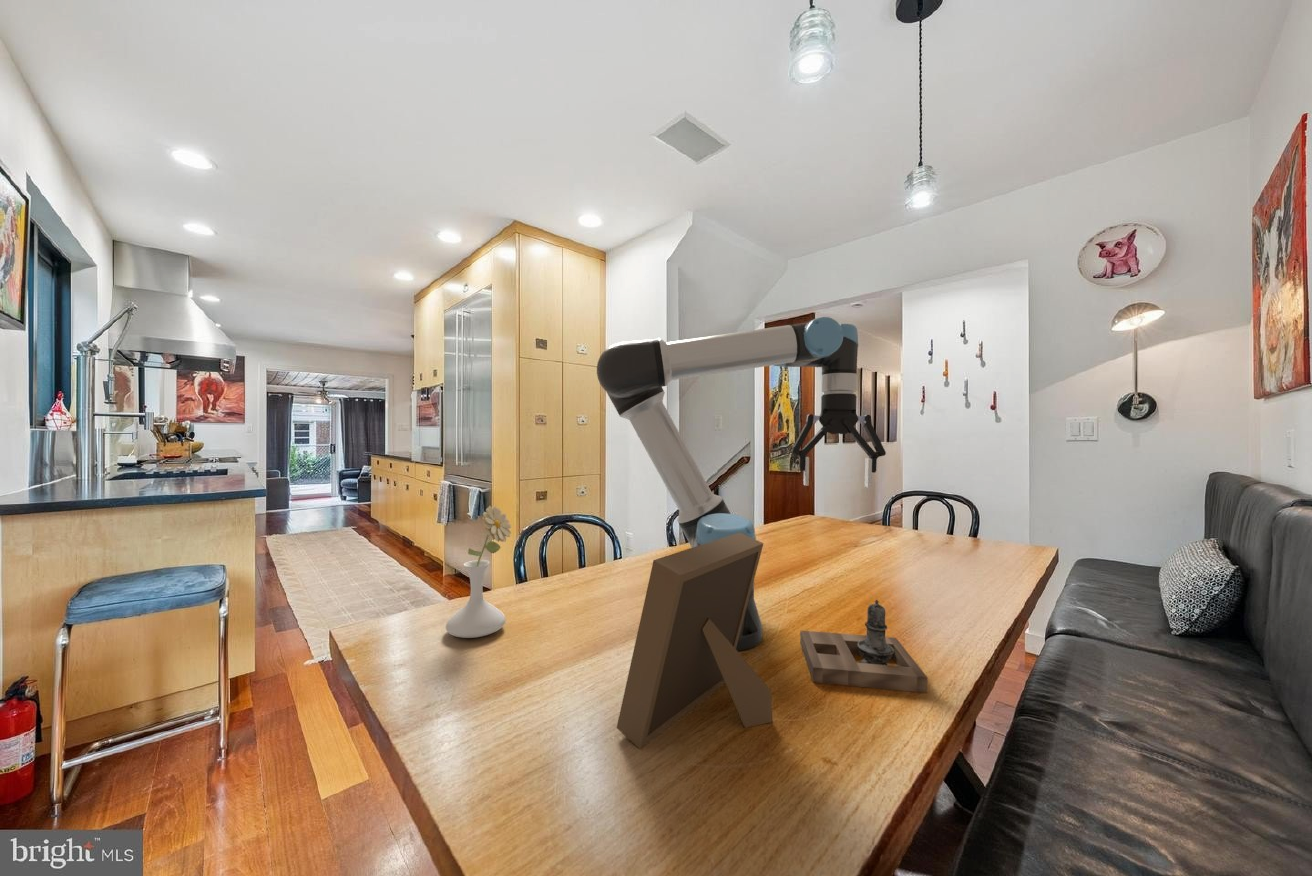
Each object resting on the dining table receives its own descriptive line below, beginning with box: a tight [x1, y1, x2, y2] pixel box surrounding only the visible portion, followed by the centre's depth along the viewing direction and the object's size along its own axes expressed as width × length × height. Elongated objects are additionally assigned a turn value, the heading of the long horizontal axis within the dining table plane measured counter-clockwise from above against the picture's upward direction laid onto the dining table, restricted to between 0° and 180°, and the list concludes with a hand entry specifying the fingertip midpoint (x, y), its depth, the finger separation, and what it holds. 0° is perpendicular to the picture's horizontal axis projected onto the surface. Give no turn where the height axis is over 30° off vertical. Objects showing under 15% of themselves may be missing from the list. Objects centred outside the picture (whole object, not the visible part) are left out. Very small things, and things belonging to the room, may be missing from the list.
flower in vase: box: [445, 505, 512, 639], centre depth 97 cm, size 13×11×25 cm
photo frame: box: [616, 533, 774, 750], centre depth 68 cm, size 15×22×25 cm
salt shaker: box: [858, 599, 894, 665], centre depth 84 cm, size 6×6×12 cm
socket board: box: [799, 630, 928, 694], centre depth 85 cm, size 18×14×2 cm
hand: (836, 486), depth 110 cm, fingers open, 13 cm apart
